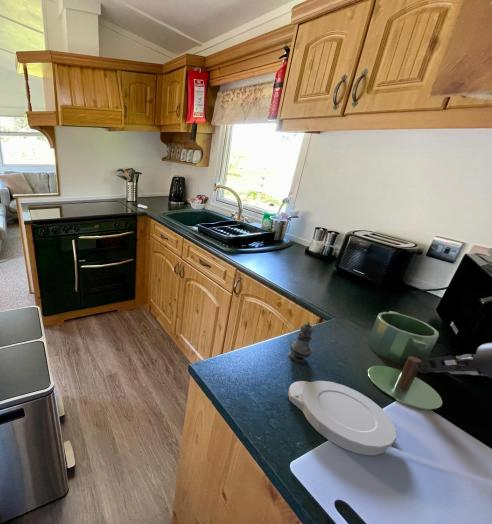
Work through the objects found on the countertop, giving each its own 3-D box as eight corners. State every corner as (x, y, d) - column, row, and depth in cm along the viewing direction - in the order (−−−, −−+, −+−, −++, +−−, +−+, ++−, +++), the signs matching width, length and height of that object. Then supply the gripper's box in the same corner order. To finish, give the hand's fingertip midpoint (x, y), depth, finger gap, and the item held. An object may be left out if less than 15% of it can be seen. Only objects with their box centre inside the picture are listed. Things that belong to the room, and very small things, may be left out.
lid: (303, 373, 77) (305, 364, 76) (398, 425, 63) (403, 415, 62) (273, 406, 66) (276, 396, 65) (381, 477, 52) (387, 465, 51)
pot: (408, 343, 94) (421, 315, 91) (437, 380, 78) (455, 348, 74) (359, 331, 99) (369, 304, 95) (377, 365, 82) (390, 333, 79)
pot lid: (423, 379, 78) (437, 351, 75) (454, 421, 65) (472, 389, 62) (360, 362, 83) (370, 336, 80) (376, 398, 70) (390, 368, 67)
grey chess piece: (283, 357, 83) (293, 321, 79) (290, 348, 87) (301, 314, 83) (305, 367, 79) (317, 330, 75) (312, 358, 83) (323, 322, 79)
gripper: (495, 381, 49) (411, 384, 64) (577, 386, 49) (474, 388, 64) (476, 337, 52) (400, 349, 67) (553, 342, 53) (460, 353, 67)
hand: (436, 368), depth 66 cm, fingers open, 8 cm apart
